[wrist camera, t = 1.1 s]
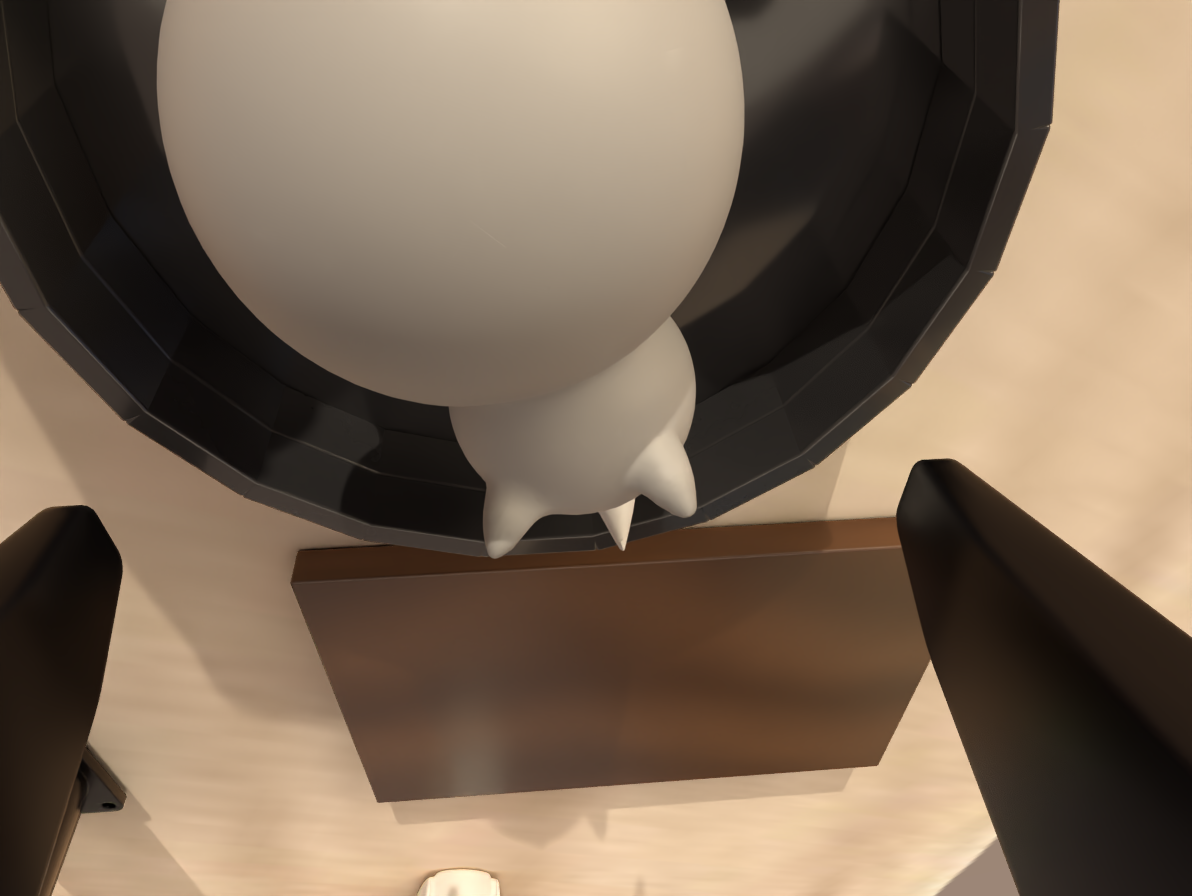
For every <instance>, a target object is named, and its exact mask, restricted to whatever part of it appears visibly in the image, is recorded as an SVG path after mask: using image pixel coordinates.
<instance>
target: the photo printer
mask: <svg viewBox="0 0 1192 896" xmlns="http://www.w3.org/2000/svg"><path fill="white" fill-rule="evenodd" d="M417 896H500V889H499V882H498V880H497V879H494V878H491V876H490V874H489V873H486V872H483V871H478V870H470V869H453V870H444V871H440V872H438V873H437V874H436V875H435V876H434V877H429V878H427V879H426V880H425V882H424V883H423V884H422V886H421V888H420V890H419V892H418V894H417Z"/></svg>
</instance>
